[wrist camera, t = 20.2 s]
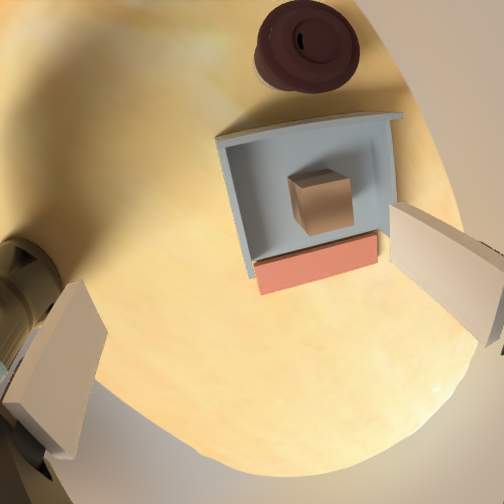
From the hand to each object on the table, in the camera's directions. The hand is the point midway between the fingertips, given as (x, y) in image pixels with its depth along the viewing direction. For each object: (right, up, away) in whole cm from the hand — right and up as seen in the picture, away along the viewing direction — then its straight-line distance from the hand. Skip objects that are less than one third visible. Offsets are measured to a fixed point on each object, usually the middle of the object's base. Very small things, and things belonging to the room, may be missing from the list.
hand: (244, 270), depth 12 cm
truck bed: (+8, +10, +31) cm, 34 cm away
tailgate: (+10, +1, +34) cm, 36 cm away
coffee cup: (+4, +25, +24) cm, 35 cm away
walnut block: (+8, +9, +30) cm, 33 cm away
